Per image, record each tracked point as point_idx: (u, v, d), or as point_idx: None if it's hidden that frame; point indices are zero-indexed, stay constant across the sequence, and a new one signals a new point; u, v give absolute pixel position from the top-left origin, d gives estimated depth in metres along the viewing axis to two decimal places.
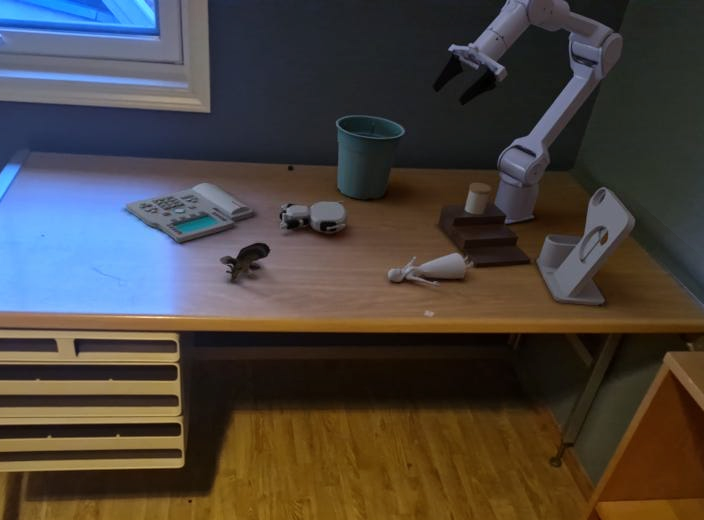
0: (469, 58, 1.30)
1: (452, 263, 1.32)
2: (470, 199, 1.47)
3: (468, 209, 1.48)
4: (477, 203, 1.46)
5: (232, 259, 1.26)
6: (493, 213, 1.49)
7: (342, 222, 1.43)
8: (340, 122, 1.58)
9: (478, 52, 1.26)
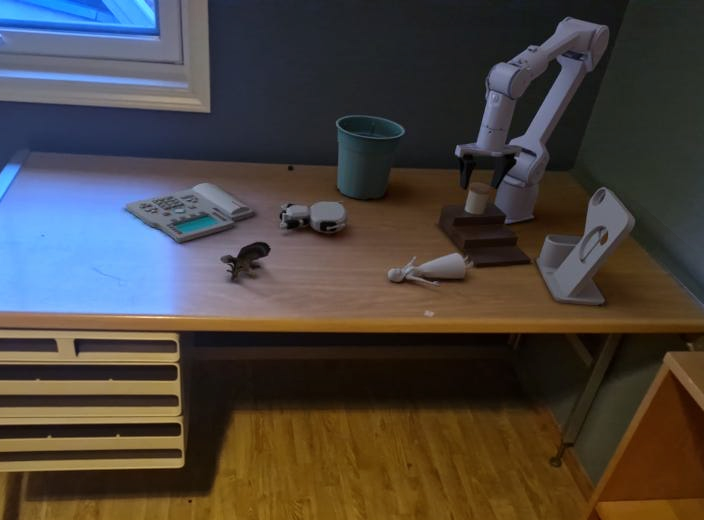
0: None
1: (452, 263, 1.32)
2: (470, 199, 1.47)
3: (468, 209, 1.48)
4: (477, 203, 1.46)
5: (233, 258, 1.26)
6: (493, 213, 1.49)
7: (342, 222, 1.43)
8: (340, 122, 1.58)
9: None
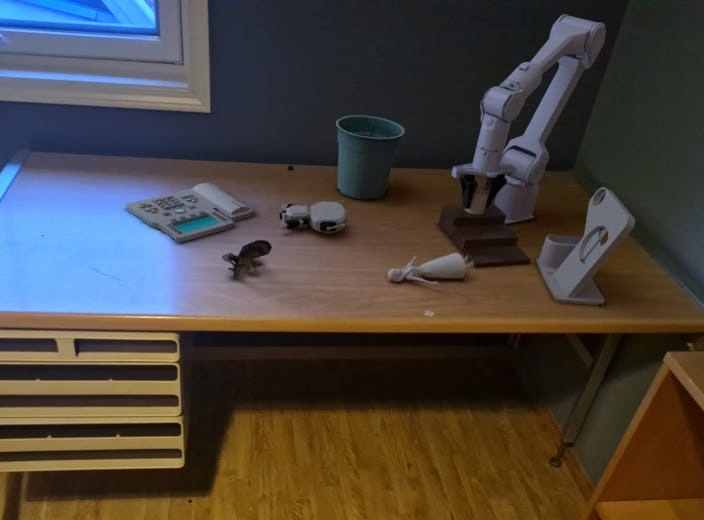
0: None
1: (452, 263, 1.32)
2: None
3: (468, 209, 1.48)
4: (477, 203, 1.46)
5: (234, 256, 1.27)
6: (493, 213, 1.49)
7: (342, 222, 1.43)
8: (340, 122, 1.58)
9: None
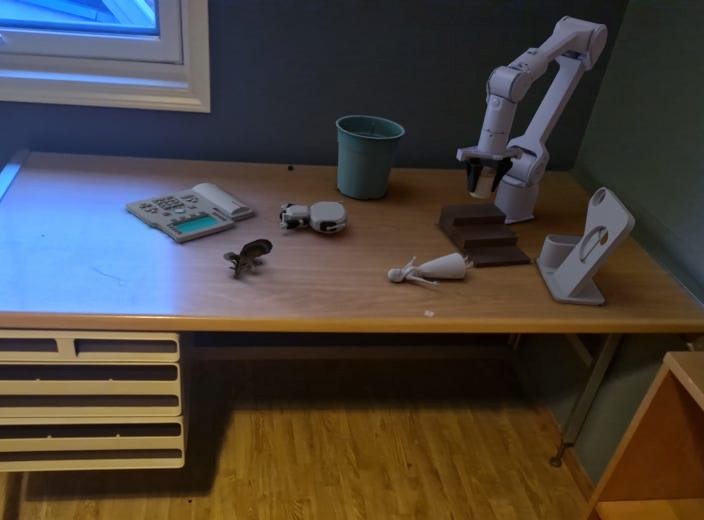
0: None
1: (452, 263, 1.32)
2: None
3: (473, 193, 1.45)
4: (482, 187, 1.43)
5: (235, 255, 1.27)
6: (493, 213, 1.49)
7: (342, 222, 1.43)
8: (340, 122, 1.58)
9: None
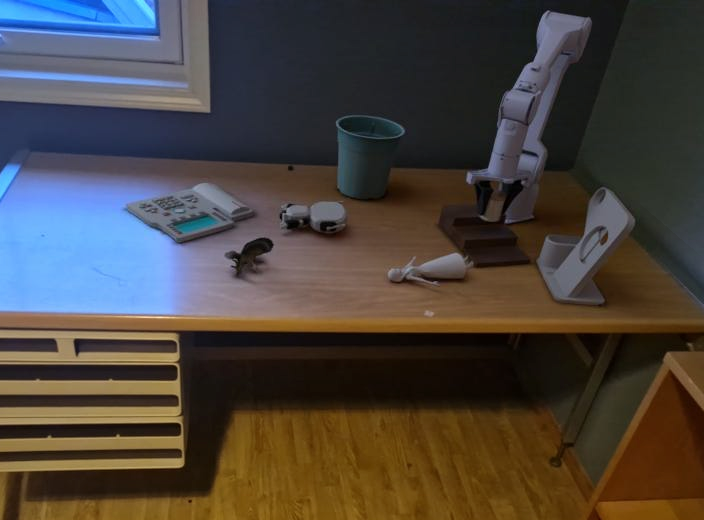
0: None
1: (452, 263, 1.32)
2: None
3: (483, 216, 1.42)
4: (492, 210, 1.41)
5: (237, 254, 1.27)
6: None
7: (342, 222, 1.43)
8: (340, 122, 1.58)
9: None
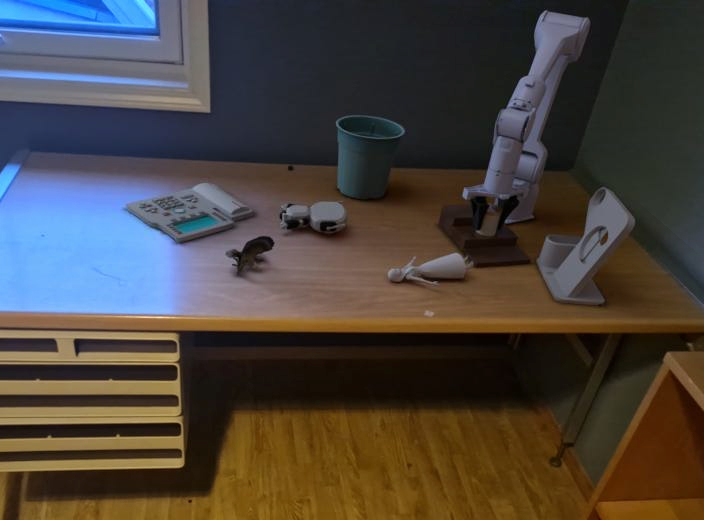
0: None
1: (452, 263, 1.32)
2: None
3: (479, 230, 1.44)
4: (488, 224, 1.43)
5: (238, 252, 1.28)
6: None
7: (342, 222, 1.43)
8: (340, 122, 1.58)
9: (508, 195, 1.38)
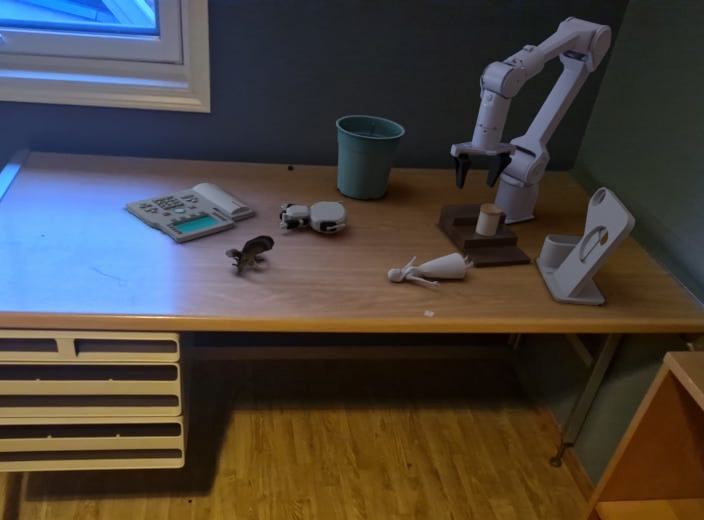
0: None
1: (452, 263, 1.32)
2: (481, 220, 1.43)
3: (479, 230, 1.44)
4: (488, 224, 1.43)
5: (238, 252, 1.28)
6: None
7: (342, 222, 1.43)
8: (340, 122, 1.58)
9: None
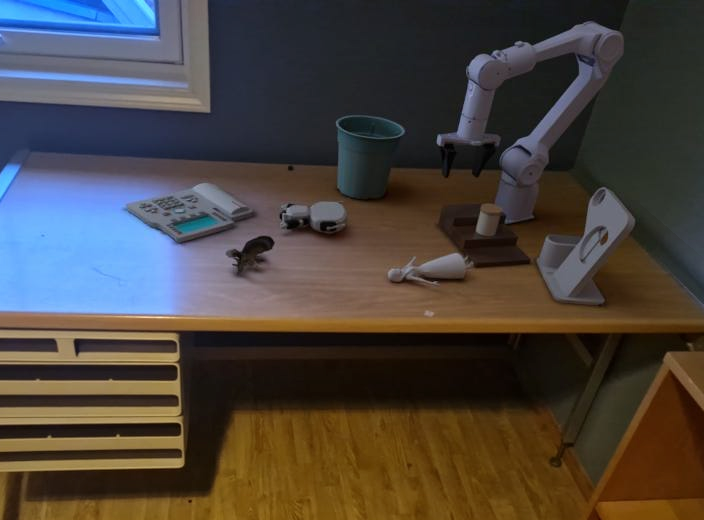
0: None
1: (452, 263, 1.32)
2: (481, 220, 1.43)
3: (479, 230, 1.44)
4: (488, 224, 1.43)
5: (238, 252, 1.28)
6: None
7: (342, 222, 1.43)
8: (340, 122, 1.58)
9: (480, 142, 1.44)
